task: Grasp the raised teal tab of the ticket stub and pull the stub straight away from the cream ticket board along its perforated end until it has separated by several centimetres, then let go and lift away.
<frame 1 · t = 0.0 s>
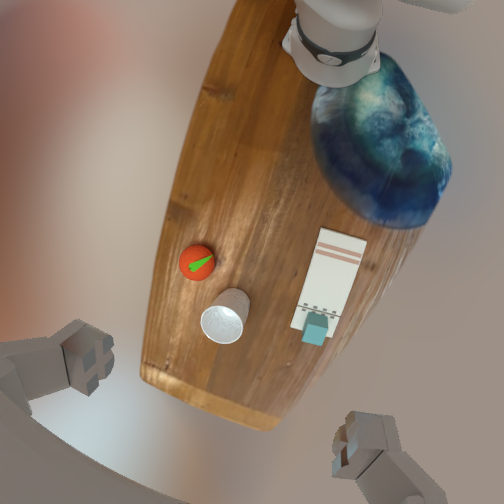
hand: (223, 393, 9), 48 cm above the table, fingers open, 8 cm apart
white cup: (234, 302, 62), on the table
clementine: (205, 256, 60), on the table
ticket: (331, 272, 56), on the table
stub: (314, 327, 56), point 3 cm above the table, slide at 0.0 cm
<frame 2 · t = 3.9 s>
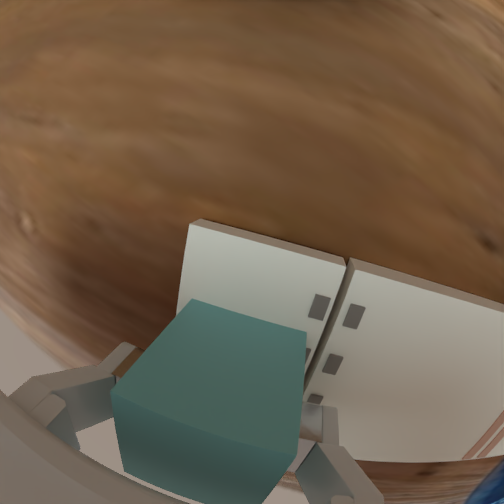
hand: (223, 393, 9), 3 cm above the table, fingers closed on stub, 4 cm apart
ticket: (460, 387, 10), on the table
stub: (221, 397, 8), point 3 cm above the table, slide at 0.0 cm, touching gripper
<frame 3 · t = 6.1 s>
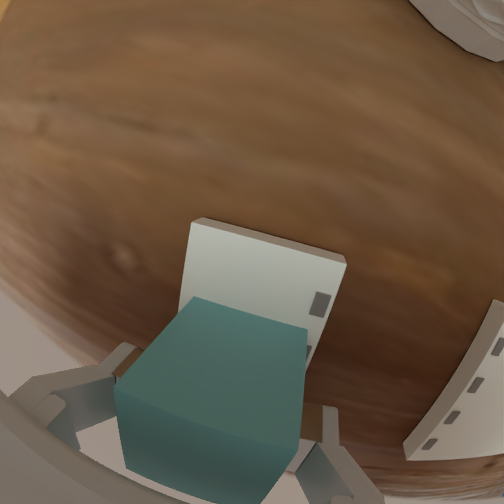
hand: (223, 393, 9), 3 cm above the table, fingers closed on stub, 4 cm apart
stub: (223, 393, 8), point 3 cm above the table, slide at 7.0 cm, touching gripper
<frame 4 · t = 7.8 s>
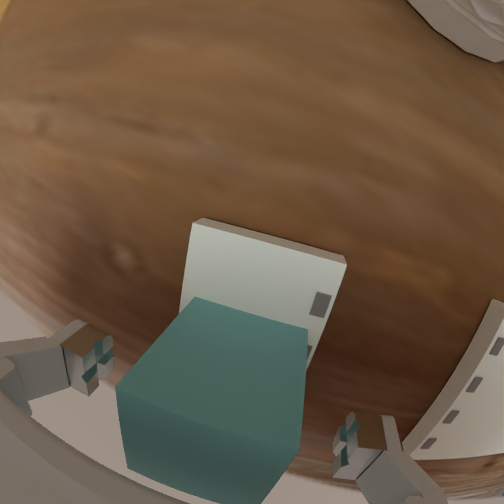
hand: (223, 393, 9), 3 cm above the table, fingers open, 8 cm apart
stub: (224, 393, 9), point 3 cm above the table, slide at 6.9 cm
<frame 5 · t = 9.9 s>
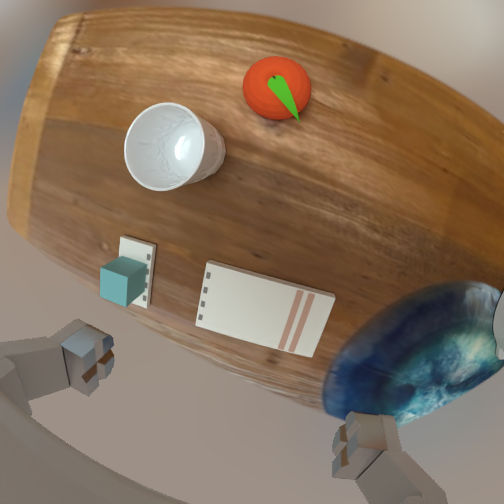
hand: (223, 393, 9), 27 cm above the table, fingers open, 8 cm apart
white cup: (199, 151, 33), on the table
clementine: (281, 99, 30), on the table
ticket: (263, 309, 37), on the table
stub: (125, 278, 35), point 3 cm above the table, slide at 6.9 cm
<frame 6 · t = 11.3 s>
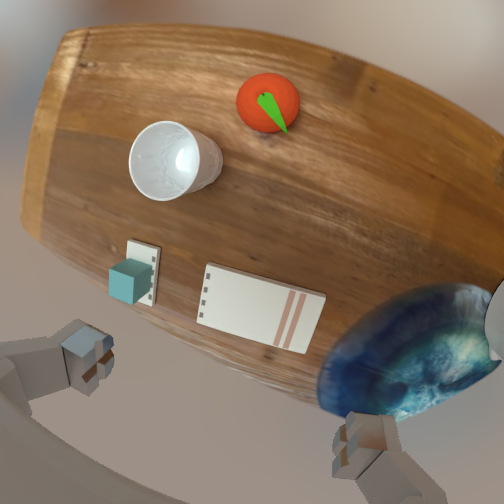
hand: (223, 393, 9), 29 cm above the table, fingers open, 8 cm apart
white cup: (198, 161, 36), on the table
clementine: (274, 112, 33), on the table
ticket: (259, 307, 40), on the table
stub: (132, 279, 39), point 3 cm above the table, slide at 6.9 cm
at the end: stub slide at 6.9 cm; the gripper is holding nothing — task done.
